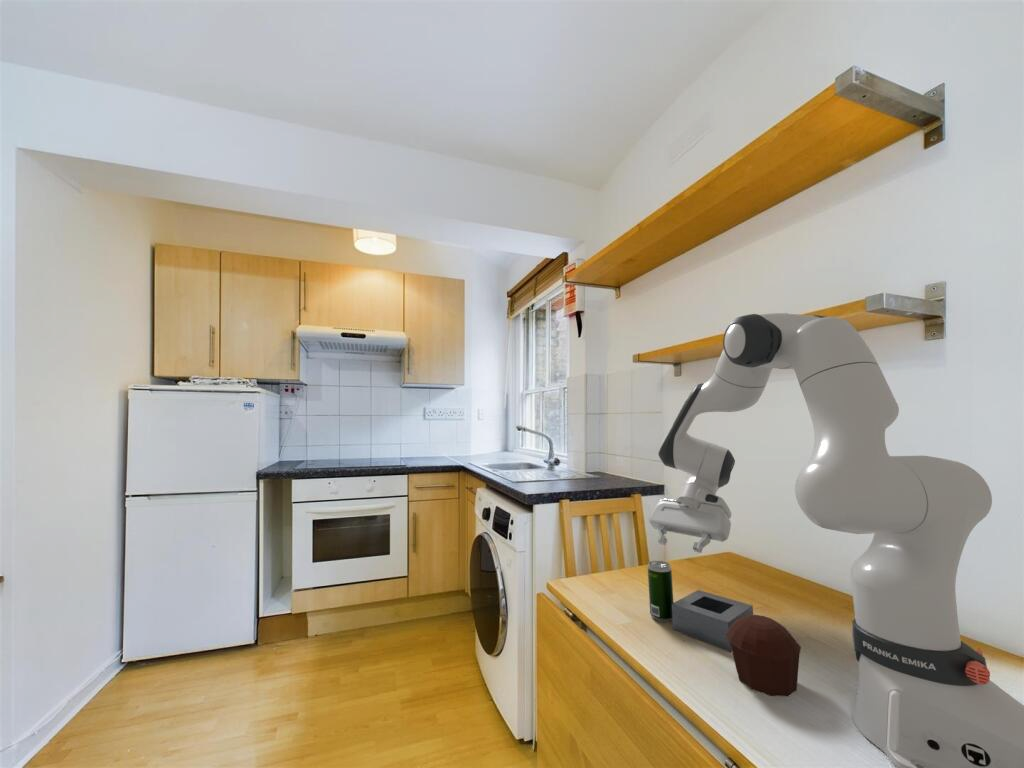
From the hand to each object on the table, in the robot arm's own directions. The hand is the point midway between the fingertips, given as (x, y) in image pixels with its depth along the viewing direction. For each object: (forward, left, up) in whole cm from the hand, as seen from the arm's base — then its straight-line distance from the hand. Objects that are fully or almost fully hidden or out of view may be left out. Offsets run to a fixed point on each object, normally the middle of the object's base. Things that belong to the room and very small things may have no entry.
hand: (678, 547), depth 104 cm
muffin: (-25, +18, -14) cm, 34 cm away
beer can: (0, +9, -14) cm, 17 cm away
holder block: (-11, +7, -14) cm, 19 cm away
